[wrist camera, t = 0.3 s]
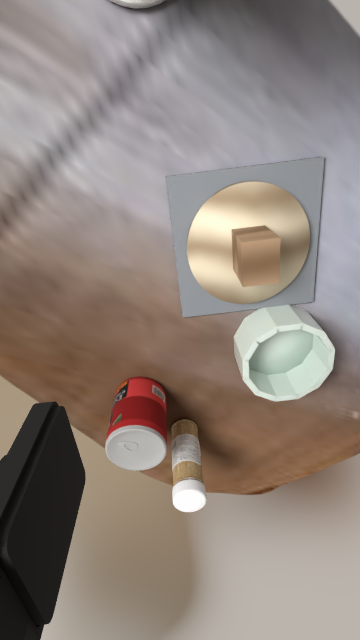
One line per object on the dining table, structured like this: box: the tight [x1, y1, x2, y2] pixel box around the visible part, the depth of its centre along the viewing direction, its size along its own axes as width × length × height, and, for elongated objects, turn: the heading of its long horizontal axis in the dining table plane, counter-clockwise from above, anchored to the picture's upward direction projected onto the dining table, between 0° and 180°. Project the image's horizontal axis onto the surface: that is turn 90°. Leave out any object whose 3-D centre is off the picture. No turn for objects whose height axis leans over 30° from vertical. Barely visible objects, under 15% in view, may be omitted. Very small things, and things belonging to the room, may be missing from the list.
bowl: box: [234, 305, 335, 401], centre depth 47 cm, size 12×12×6 cm
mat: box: [166, 157, 324, 318], centre depth 43 cm, size 18×18×1 cm
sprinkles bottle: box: [171, 419, 207, 512], centre depth 51 cm, size 5×5×14 cm
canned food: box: [105, 377, 167, 471], centre depth 48 cm, size 8×8×11 cm
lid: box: [187, 181, 310, 304], centre depth 39 cm, size 15×15×7 cm
